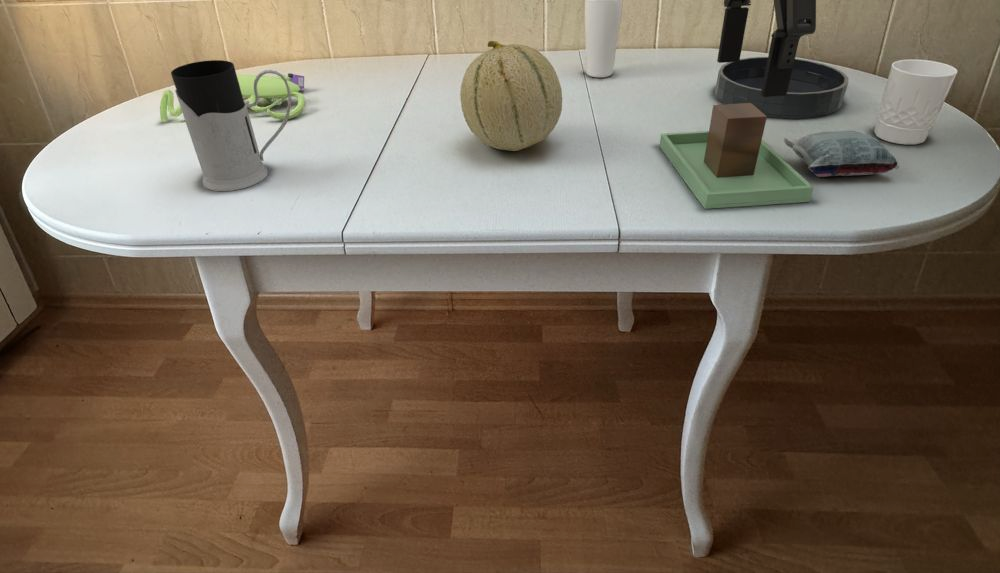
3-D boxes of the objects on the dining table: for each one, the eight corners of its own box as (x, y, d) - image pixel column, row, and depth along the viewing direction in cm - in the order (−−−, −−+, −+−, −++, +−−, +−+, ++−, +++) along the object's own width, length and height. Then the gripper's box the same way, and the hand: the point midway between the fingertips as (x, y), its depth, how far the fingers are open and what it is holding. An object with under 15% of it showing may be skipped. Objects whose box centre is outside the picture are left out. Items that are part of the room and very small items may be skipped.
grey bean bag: (780, 156, 87) (788, 122, 84) (864, 154, 87) (876, 120, 84) (804, 185, 80) (815, 149, 77) (897, 182, 80) (911, 147, 77)
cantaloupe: (555, 169, 86) (558, 58, 77) (453, 164, 88) (444, 56, 80) (566, 129, 98) (569, 29, 89) (475, 126, 100) (469, 28, 91)
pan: (805, 76, 115) (811, 54, 113) (866, 114, 99) (874, 89, 97) (698, 82, 114) (702, 60, 112) (742, 122, 98) (747, 97, 96)
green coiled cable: (195, 88, 121) (186, 58, 118) (329, 86, 119) (323, 56, 115) (145, 123, 106) (132, 90, 103) (297, 122, 104) (289, 89, 100)
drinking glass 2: (574, 74, 120) (577, -10, 111) (597, 66, 124) (601, -16, 115) (601, 82, 116) (607, -5, 107) (624, 73, 120) (631, -11, 111)
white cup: (904, 150, 88) (930, 79, 82) (857, 132, 93) (879, 64, 88) (942, 140, 90) (971, 70, 84) (894, 122, 96) (918, 56, 90)
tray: (659, 146, 91) (661, 133, 90) (746, 141, 92) (749, 128, 91) (704, 209, 76) (707, 194, 75) (809, 202, 76) (814, 187, 75)
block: (738, 159, 86) (750, 102, 81) (753, 175, 82) (767, 116, 77) (703, 161, 85) (713, 104, 81) (716, 177, 81) (727, 118, 77)
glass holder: (202, 170, 89) (167, 64, 81) (303, 153, 93) (279, 50, 85) (202, 196, 83) (163, 83, 74) (310, 176, 87) (285, 67, 78)
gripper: (709, -132, 74) (686, 51, 86) (812, -124, 54) (762, 114, 66) (771, -136, 74) (739, 48, 87) (896, -128, 54) (830, 110, 66)
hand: (749, 77), depth 76 cm, fingers open, 13 cm apart
